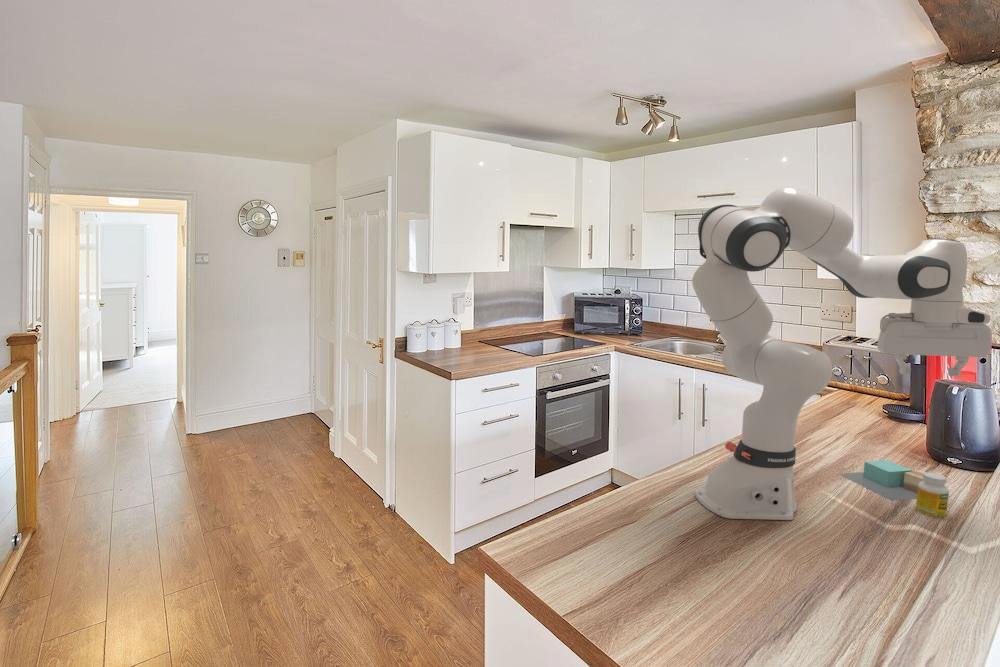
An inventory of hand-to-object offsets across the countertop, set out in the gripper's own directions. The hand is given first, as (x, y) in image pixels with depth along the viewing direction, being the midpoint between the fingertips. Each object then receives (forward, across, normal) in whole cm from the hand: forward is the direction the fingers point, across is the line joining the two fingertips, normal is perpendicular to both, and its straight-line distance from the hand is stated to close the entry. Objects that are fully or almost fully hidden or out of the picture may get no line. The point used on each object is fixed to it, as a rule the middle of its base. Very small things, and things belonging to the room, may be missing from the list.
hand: (929, 375), depth 117 cm
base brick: (+31, 0, +14) cm, 34 cm away
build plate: (+32, 0, +12) cm, 34 cm away
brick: (+31, +5, +9) cm, 32 cm away
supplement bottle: (+32, +2, -3) cm, 32 cm away
